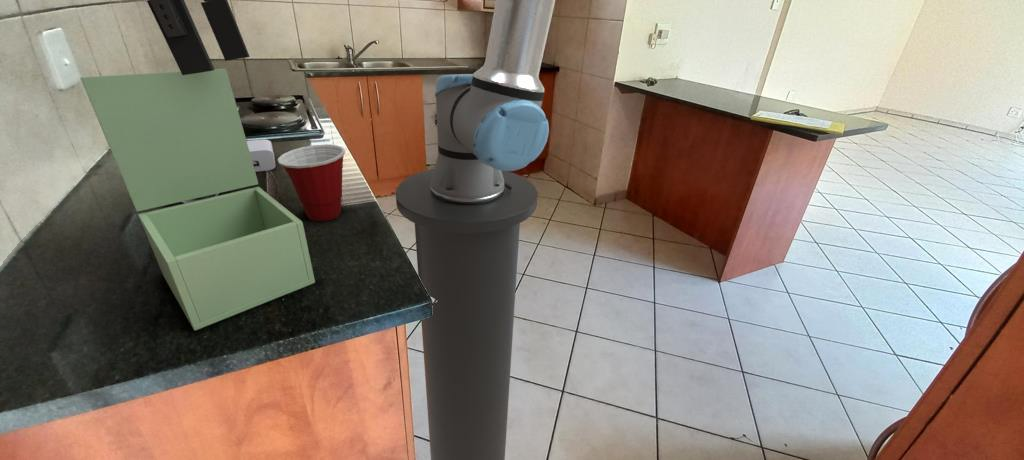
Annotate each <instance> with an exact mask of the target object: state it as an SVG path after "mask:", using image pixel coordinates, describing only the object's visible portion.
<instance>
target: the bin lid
mask: <svg viewBox="0 0 1024 460" xmlns="http://www.w3.org/2000/svg"><path fill="white" fill-rule="evenodd" d="M214 69H215V70H213V71H208V72H201V73H195V74H188V75H182V73H181V71H180V70H179V71H165V72H163V71H162V72H146V73H131V74H130V73H129V74H115V75H113V74H111V75H97V76H94V75H93V76H80V77H79V78H80V81H81V83H82V85H83V88H84V90H85V93H86V95H87V98H88V100H89V102H90V104H91V107H92V109H93V112H94V115H95V117H96V118H97V120H98V123H99V126H100V127H101V130H102V133H103V135H104V138H105V141H106V142H107V144H108V148H109V150H110V152H111V155H112V156H113V159H114V161H115V164H116V166H117V169H118V171H119V173H120V176H121V178H122V180H123V183H124V185H125V187H126V190H127V192H128V195H129V197H130V199H131V202H132V205H133V207H134V209H135V211H136V212H142V211H146V210H151V209H154V208H159V207H163V206H168V205H173V204H177V203H182V201H186V200H191V199H195V198H200V197H204V196H208V195H213V194H217V193H219V194H221V193H226V192H230V191H234V190H239V189H242V188H247V187H252V186H257V185H259V181H258V177H257V174H256V172H255V169H254V166H253V162H252V159H251V155H250V152H249V148H248V144H247V141H248V140H247V137H246V135H245V131H244V127H243V123H242V120H241V117H240V116H241V115H240V113H239V110H238V106H237V102H236V98H235V95H234V91H233V88H232V85H231V84H232V83H231V81H230V77H229V73H228V70H227V69H226V68H214Z"/></svg>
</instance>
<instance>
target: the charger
mask: <svg viewBox="0 0 1024 460" xmlns="http://www.w3.org/2000/svg"><path fill="white" fill-rule="evenodd" d="M246 141H247V144H248V148H249V152H250V155H251V159H252V162H253V166H254V169H255V173H256V172H266V171H267V172H268V171H271V170H274V169H276V159H275V158H276V157H275V153H274V147H273V144H272V141H271V140H269V139H253V140H246Z"/></svg>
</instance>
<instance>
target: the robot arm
mask: <svg viewBox="0 0 1024 460" xmlns="http://www.w3.org/2000/svg"><path fill="white" fill-rule="evenodd" d="M146 3H147V5H148V7H149V9H150V11H151V13H152V15H153V17H154V19H155V21H156V23H157V26H158V27H159V30H160V31H161V34H162V36H163V38H164V40H165V42H166V44H167V46H168V49H169V51H170V52H171V55H172V57H173V58H174V61H175V63H176V65H177V68H178V69H179V71H181V73H182V75H188V74H195V73H201V72H208V71H213V70H215V69H216V68H215V67H214V64H213V63H212V60H211V57H210V56H209V53H208V51H207V49H206V46H205V44H204V43H203V39H202V37H201V36H200V33H199V31H198V29H197V27H196V24H195V22H194V20H193V18H192V15H191V12H190V10H189V8H188V6H187V4H186V2H185V0H146ZM555 3H556V0H495V3H494V9H493V15H492V19H491V20H492V21H491V25H490V26H491V27H490V32H489V38H488V43H487V49H486V53H485V54H486V55H485V61H484V64H483V65H482V66H481V67H480V68H479V69H477V70H475V72H473V73H461V74H460V73H459V74H457V73H456V74H442V75H440V76H438V77H437V79H436V81H435V92H434V97H435V106H436V107H435V108H436V128H437V129H436V130H437V131H436V132H437V133H436V134H437V151H438V152H437V158H436V160H435V165H434V167H433V169H434V171H433V174H432V177H431V183H430V189H431V194H432V195H433V196H434V197H435V198H437V199H439V200H441V201H444V202H447V203H451V204H457V205H480V204H485V203H489V202H493V201H495V200H497V199H499V198H500V197H502V196H503V194H504V190H505V187H506V188H508V189H509V190H511V189H512V186H511V185H510V184H508V183H507V182H505V181H504V178H503V175H502V171H508V172H514V171H518V170H522V169H524V168H525V167H527V166H528V165H529V164H531V163H532V162H534V161H535V160H536V159H537V158H538V157H539V156H540V155H541V153H542V152H543V151H544V149H545V146H546V144H547V142H548V138H549V134H550V127H549V126H550V125H549V120H548V119H547V118H546V114H545V112H544V110H543V109H542V105H543V101H544V96H545V91H546V89H545V87H544V85H543V83H542V82H541V80H540V70H541V66H542V62H543V57H544V53H545V49H546V44H547V39H548V35H549V31H550V26H551V21H552V17H553V14H554V8H555V5H556V4H555ZM200 5H201V7H202V10H203V12H204V14H205V16H206V19H207V22H208V24H209V26H210V28H211V31H212V33H213V36H214V38H215V40H216V43H217V45H218V47H219V49H220V53H221V54H222V57H223V59H224V61H225V62H227V61H233V60H239V59H247V58H250V57H251V56H250V53H249V51H248V49H247V46H246V44H245V42H244V38H243V37H242V36H243V35H242V34H241V33H242V32H241V31H240V28H239V26H238V24H237V22H236V18H235V16H234V14H233V11H232V8H231V6H230V3H229V1H228V0H203V1H201V2H200Z"/></svg>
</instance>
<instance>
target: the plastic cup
mask: <svg viewBox="0 0 1024 460" xmlns="http://www.w3.org/2000/svg"><path fill="white" fill-rule="evenodd" d="M345 154H346V150H345V148H344V147H343V146H341V145H338V144H328V143H327V144H314V145H313V144H312V145H307V146H302V147H297V148H295V149H291V150H289V151H287V152H285V153H283V154H281V155H280V156H278V158H277V162H278V164H279V165H280V166H282V167H283V168H284V170H285V172H286V173H287V175H288V178H290V180H291V182H292V185H293V187H294V190H295V192H296V194H297V196H298V199H299V202H300V203H301V205H302V207H303V209H304V212H305V214H306V216H307V217H308V219H309V220H311V221H316V222H325V221H330V220H334V219H335V218H337V217H339V216H340V215H341V212H342V211H341V210H342V197H343V168H344V156H345Z"/></svg>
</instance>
